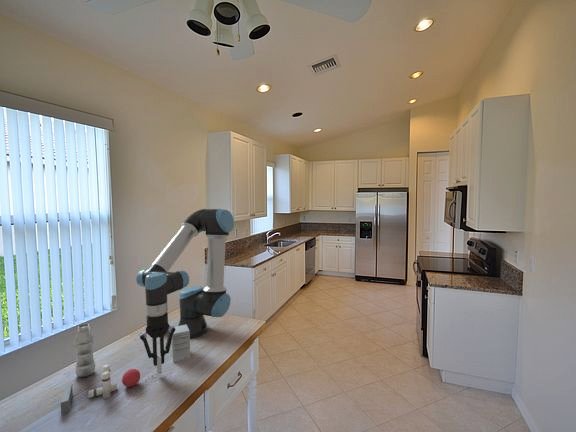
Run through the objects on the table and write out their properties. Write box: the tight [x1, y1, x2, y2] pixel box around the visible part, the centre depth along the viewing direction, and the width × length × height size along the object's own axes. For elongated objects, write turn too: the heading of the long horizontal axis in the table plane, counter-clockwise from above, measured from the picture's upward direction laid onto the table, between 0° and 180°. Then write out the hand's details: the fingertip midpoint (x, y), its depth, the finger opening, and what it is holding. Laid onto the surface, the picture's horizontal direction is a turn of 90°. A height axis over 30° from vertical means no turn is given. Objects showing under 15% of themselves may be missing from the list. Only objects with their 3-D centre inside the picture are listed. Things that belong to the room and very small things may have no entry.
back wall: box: [60, 383, 74, 415], centre depth 98 cm, size 2×10×4 cm, turn 31°
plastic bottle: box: [73, 323, 97, 378], centre depth 115 cm, size 6×7×20 cm
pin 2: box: [101, 371, 112, 400], centre depth 102 cm, size 2×2×8 cm
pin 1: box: [101, 363, 112, 384], centre depth 106 cm, size 2×2×8 cm
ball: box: [121, 368, 141, 388], centre depth 108 cm, size 6×6×6 cm
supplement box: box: [170, 325, 191, 363], centre depth 128 cm, size 7×7×13 cm
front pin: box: [88, 382, 118, 399], centre depth 104 cm, size 2×2×8 cm
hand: (159, 372), depth 113 cm, fingers closed
